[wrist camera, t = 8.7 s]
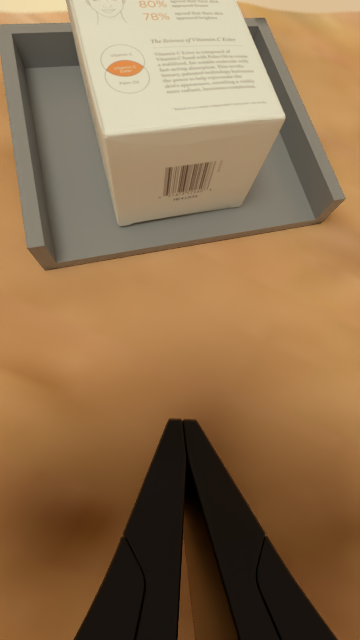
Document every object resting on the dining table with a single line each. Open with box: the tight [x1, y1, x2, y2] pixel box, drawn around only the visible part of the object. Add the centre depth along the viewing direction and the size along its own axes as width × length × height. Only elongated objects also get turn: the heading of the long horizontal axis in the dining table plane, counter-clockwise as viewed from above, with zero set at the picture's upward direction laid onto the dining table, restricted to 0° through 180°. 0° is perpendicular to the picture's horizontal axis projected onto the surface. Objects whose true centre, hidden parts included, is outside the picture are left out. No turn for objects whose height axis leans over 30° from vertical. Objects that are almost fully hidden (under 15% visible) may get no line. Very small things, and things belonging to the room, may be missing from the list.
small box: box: [66, 0, 285, 226], centre depth 16 cm, size 8×6×13 cm
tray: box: [0, 18, 346, 270], centre depth 18 cm, size 15×18×2 cm
